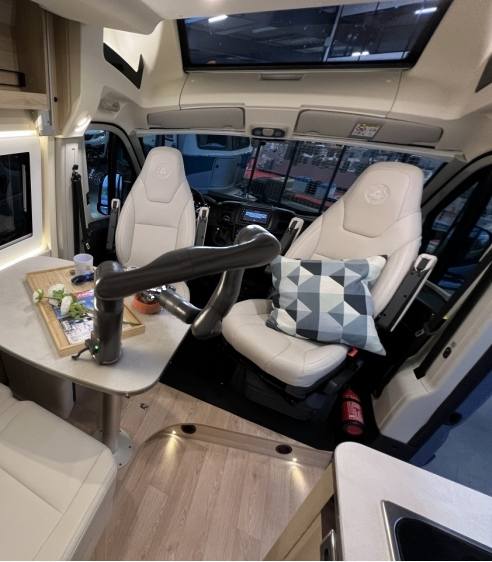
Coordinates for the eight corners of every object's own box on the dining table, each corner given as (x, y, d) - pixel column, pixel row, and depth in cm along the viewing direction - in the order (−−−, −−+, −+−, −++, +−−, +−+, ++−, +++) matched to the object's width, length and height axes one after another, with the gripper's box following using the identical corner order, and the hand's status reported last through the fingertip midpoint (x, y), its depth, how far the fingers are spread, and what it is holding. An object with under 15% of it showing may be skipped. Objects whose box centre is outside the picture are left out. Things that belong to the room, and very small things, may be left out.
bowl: (144, 317, 116) (145, 308, 114) (127, 302, 125) (128, 293, 123) (167, 309, 122) (168, 300, 120) (149, 295, 131) (150, 287, 129)
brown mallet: (146, 308, 121) (149, 279, 114) (140, 304, 123) (144, 275, 116) (155, 305, 123) (159, 276, 116) (149, 301, 126) (153, 272, 119)
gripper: (188, 289, 110) (161, 272, 122) (160, 299, 103) (133, 279, 115) (185, 306, 114) (158, 287, 125) (157, 316, 107) (132, 295, 118)
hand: (146, 283), depth 120 cm, fingers open, 8 cm apart
